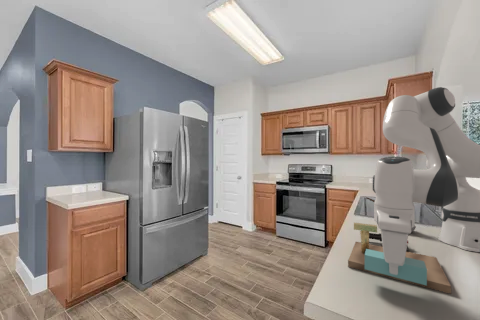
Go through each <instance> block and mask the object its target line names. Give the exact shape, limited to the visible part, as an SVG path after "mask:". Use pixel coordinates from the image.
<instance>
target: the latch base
mask: <svg viewBox="0 0 480 320" xmlns="http://www.w3.org/2000/svg"><path fill="white" fill-rule="evenodd" d="M369 249H370V250H374V251H379V252H383V246H380V245H375V244H371V243H369ZM405 257H407V258H412V259H416V260H421V261H424V263H425V265H426V268H427V286H426V285H423V284H419V283H415V282H411V281H407V280H404V279H400V278H396V277H392V276H388V275H385V274H381V273H377V272H373V271H370V270H366V269H365V253H362V252H361V241H355V243H354V245H353V248H352V249H351V252H350V254H349V258H348V260H347V267H348V268H352V269H355V270H358V271H359V270H360V271H363V272H365V273H371V274H373V275H378V276H382V277H385V278H386V277H387V278H390V279H393V280H398V281H401V282H404V283H407V284H412V285H416V286H420V287H424V288H427V289H430V288H431V290H434V289H435V291H438V290H439V291H438V292H442V291H443V292H442V293H446V294H449V293H450V294H452V286H451V283H450V281H449V279H448V277H447V275H446V273H445V272H444V270H443V268H442V266H441V264H440V261H439V260H438V258H437V257H436V256H432V255H431V256H430V255H425V254H421V253H417V252H410V251H409V252H406V256H405Z"/></svg>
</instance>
